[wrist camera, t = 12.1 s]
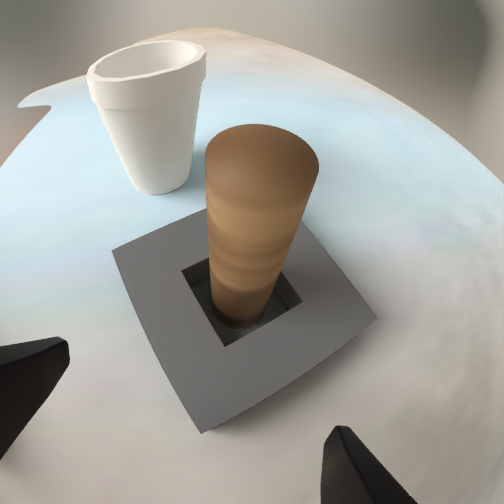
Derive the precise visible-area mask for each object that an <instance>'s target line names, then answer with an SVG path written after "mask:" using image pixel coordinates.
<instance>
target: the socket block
mask: <svg viewBox="0 0 504 504" xmlns="http://www.w3.org/2000/svg"><path fill="white" fill-rule="evenodd" d="M112 253H113V256H114V258H115V261H116V264H117V267H118V269H119V272H120V275H121V277H122V280H123V282H124V285H125V287H126V290H127V292H128V295H129V297H130V300H131V302H132V304H133V307H134V309H135V311H136V314H137V316H138V318H139V320H140V323H141V325H142V327H143V329H144V331H145V334H146V336H147V338H148V340H149V342H150V344H151V346H152V348H153V350H154V352H155V354H156V356H157V358H158V360H159V362H160V364H161V366H162V368H163V370H164V372H165V374H166V375H167V377H168V379H169V381H170V383H171V385H172V386H173V388H174V390H175V392H176V394H177V395H178V397H179V399H180V401H181V402H182V404H183V406H184V407H185V409H186V411H187V412H188V414H189V416H190V417H191V419H192V421H193V422H194V424H195V425H196V427H197V429H198V430H199V432H200V433H201V434H202V433H204V432H206V431H208V430H210V429H212V428H214V427H216V426H218V425H220V424H221V423H223V422H225V421H227V420H229V419H231V418H233V417H234V416H236V415H238V414H240V413H242V412H243V411H245V410H247V409H249V408H250V407H252V406H254V405H255V404H257V403H259V402H261V401H262V400H264V399H266V398H267V397H269V396H270V395H272V394H274V393H275V392H277V391H278V390H280V389H282V388H283V387H285V386H286V385H288V384H289V383H291V382H292V381H294V380H295V379H297V378H298V377H300V376H301V375H303V374H304V373H306V372H307V371H309V370H310V369H312V368H313V367H314V366H316V365H317V364H319V363H320V362H321V361H323V360H324V359H326V358H327V357H328V356H330V355H331V354H332V353H334V352H335V351H336V350H338V349H339V348H340V347H342V346H343V345H344V344H346V343H347V342H348V341H350V340H351V339H352V338H353V337H355V336H356V335H357V334H358V333H360V332H361V331H362V330H363V329H365V328H366V327H367V326H368V325H369V324H371V323H372V322H373V321H374V320H375V319H377V317H376V315H375V314H374V313H373V311H372V310H371V309H370V307H369V306H368V305H367V303H366V302H365V300H364V299H363V298H362V296H361V295H360V294H359V293H358V291H357V290H356V289H355V287H354V286H353V285H352V283H351V282H350V281H349V279H348V278H347V277H346V275H345V274H344V273H343V272H342V270H341V269H340V268H339V267H338V265H337V264H336V263H335V261H334V260H333V259H332V258H331V256H330V255H329V254H328V253H327V251H326V250H325V249H324V248H323V246H322V245H321V244H320V243H319V241H318V240H317V239H316V238H315V237H314V235H313V234H312V233H311V232H310V230H309V229H308V228H307V227H306V226H305V224H304V223H303V222H302V221H301V220H300V223H299V226H298V228H297V231H296V233H295V236H294V239H293V241H292V244H291V246H290V249H289V251H288V254H287V256H286V259H285V261H284V264H283V266H282V269H281V271H280V274H279V276H278V279H277V281H276V284H275V286H274V289H275V291H276V292H277V294H278V295H279V297H280V298H281V300H282V301H283V302H284V304H285V305H286V307H287V308H288V310H289V311H287V312H285V313H284V314H282V315H280V316H279V317H277V318H275V319H274V320H272V321H270V322H268V323H267V324H265V325H263V326H262V327H260V328H258V329H256V330H255V331H253V332H251V333H249V334H248V335H246V336H244V337H242V338H240V339H239V340H237V341H235V342H233V343H231V344H230V345H228V346H226V347H224V345H223V344H222V342H221V340H220V339H219V337H218V335H217V334H216V332H215V330H214V329H213V327H212V325H211V323H210V322H209V320H208V318H207V317H206V315H205V313H204V311H203V310H202V308H201V306H200V304H199V303H198V301H197V299H196V297H195V295H194V294H193V292H192V290H191V288H190V286H192V285H194V284H196V283H198V282H200V281H202V280H204V279H206V278H208V277H210V264H209V247H208V227H207V208H206V209H204V210H201V211H199V212H196V213H194V214H192V215H189V216H187V217H185V218H182V219H180V220H178V221H175V222H173V223H171V224H168V225H166V226H164V227H162V228H159V229H157V230H155V231H153V232H150V233H148V234H146V235H144V236H141V237H139V238H137V239H135V240H133V241H131V242H128V243H126V244H124V245H122V246H120V247H118V248H116V249H114V250H112Z"/></svg>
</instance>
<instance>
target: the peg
mask: <svg viewBox="0 0 504 504" xmlns="http://www.w3.org/2000/svg"><path fill="white" fill-rule="evenodd" d="M205 170H206V203H207V227H208V247H209V264H210V280H211V294H212V307H213V311H214V313H215V315H216V317H217V318H218V319H219V321H221V322H222V323H223V324H225V325H226V326H228V327H231V328H237V329H242V328H247V327H250V326H252V325H254V324H255V323H257V322H258V321H259V320H260V318H261V317H262V315H263V313H264V311H265V308H266V306H267V303H268V301H269V298H270V296H271V294H272V291H273V289H274V286H275V284H276V281H277V279H278V276H279V274H280V271H281V269H282V266H283V264H284V261H285V259H286V256H287V254H288V251H289V249H290V246H291V244H292V241H293V239H294V236H295V233H296V231H297V228H298V226H299V223H300V220H301V218H302V215H303V213H304V210H305V207H306V205H307V202H308V199H309V197H310V194H311V191H312V189H313V186H314V183H315V181H316V178H317V175H318V171H319V163H318V159H317V156H316V154H315V152H314V151H313V149H312V148H311V147H310V146H309V145H308V144H307V143H306V142H305V141H304V140H303V139H301V138H300V137H298V136H297V135H295V134H293V133H291V132H289V131H287V130H284V129H281V128H278V127H274V126H269V125H262V124H246V125H239V126H235V127H232V128H229V129H226V130H224V131H222V132H220V133H219V134H217V135H216V136H215V137H214V138H213V139H212V140H211V141H210V142H209V144H208V146H207V148H206V152H205Z"/></svg>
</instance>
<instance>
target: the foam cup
mask: <svg viewBox="0 0 504 504" xmlns="http://www.w3.org/2000/svg"><path fill="white" fill-rule="evenodd" d="M205 75H206V51H205V50H204V49H203V47H202V46H201V45H199V44H196V43H192V42H188V41H179V40H162V41H153V42H146V43H140V44H136V45H133V46H129V47H126V48H123V49H119V50H117V51H115V52H113V53H110V54H108V55H106V56H104V57H102V58H101V59H99V60H98V61H97V62H95V63H94V64H93V65H91V66H90V67H89V69H88V73H87V75H86V77H87V82H88V86H89V90H90V95H91V99H92V101H93V102H94V103H95V104H96V105H97V108H98V110H99V113H100V115H101V117H102V120H103V122H104V124H105V127H106V129H107V131H108V133H109V136H110V138H111V140H112V142H113V145H114V147H115V149H116V151H117V153H118V155H119V158H120V160H121V162H122V164H123V166H124V168H125V170H126V172H127V174H128V176H129V178H130V180H131V182H132V184H133V185H134V186H135V187H136V188H137V189H138V190H139V191H140V192H143V193H146V194H150V195H157V194H166V193H168V192H171V191H173V190H175V189H178V188H179V187H180V186H181V185H182V184H184V183H185V182H186V181H187V180H188V177H189V174H190V171H191V164H192V154H193V145H194V137H195V129H196V121H197V113H198V106H199V99H200V93H201V86H202V82H203V80H204V78H205Z"/></svg>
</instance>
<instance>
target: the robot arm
mask: <svg viewBox="0 0 504 504" xmlns="http://www.w3.org/2000/svg"><path fill="white" fill-rule="evenodd" d="M69 363H70V356H69V346H68V343H67V341H66V340H64V339H62V338H60V337H51V338H46V339H41V340H35V341H30V342H24V343H18V344H12V345H6V346H0V460H1V459H2V457H3V456H4V454H5V453H6V452H7V450H8V449H9V448H10V446H11V445H12V443H13V442H14V441H15V439H16V438H17V437H18V435H19V434H20V433H21V431H22V430H23V429H24V427H25V426H26V425H27V423H28V422H29V421H30V419H31V418H32V417H33V416H34V414H35V413H36V412H37V411H38V409H39V408H40V407H41V405H42V404H43V403H44V402H45V400H46V399H47V398H48V397H49V395H50V394H51V392H52V391H53V389H54V388H55V386H56V384H57V383H58V381H59V380H60V378H61V377H62V375H63V374H64V372H65V370H66V369H67V367H68V366H69ZM321 504H418V503H417V502H416V501H415V500H414V499H413V498H412V497H411V496H409V494H408V493H407V492H406V490H405V489H404V488H403V487H402V486H401V485H400V484H399V483H398V482H397V481H396V480H395V478H394V477H393V476H392V475H391V474H390V473H389V472H388V471H387V470H386V469H385V467H384V466H383V465H382V464H381V463H380V462H379V461H378V460H377V458H376V457H375V456H374V455H373V454H372V453H371V452H370V451H369V449H368V448H367V447H366V446H365V445H364V444H363V443H362V441H361V440H360V439H359V438H358V437H357V436H356V434H355V433H354V432H353V431H352V430H351V429H350V428H349V427H348V426H340V425H338V426H335V427H334V429H333V430H332V432H331V433H330V435H329V436H328V438H327V439H326V441H325V444H324V450H323V462H322V473H321Z"/></svg>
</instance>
